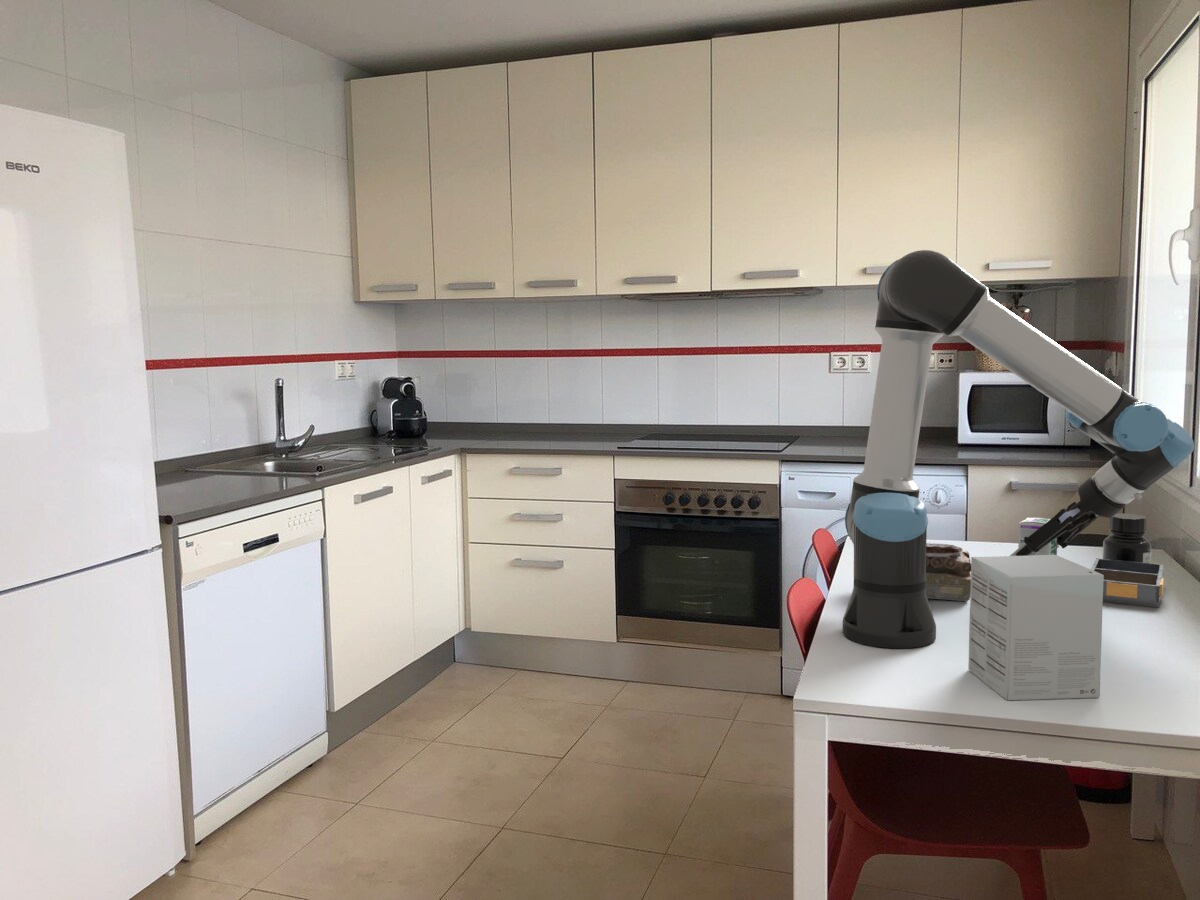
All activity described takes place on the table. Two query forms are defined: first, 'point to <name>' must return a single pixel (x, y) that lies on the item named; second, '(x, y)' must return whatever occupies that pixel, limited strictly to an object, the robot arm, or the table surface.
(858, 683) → the table surface
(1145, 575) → the grey divided tray
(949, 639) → the table surface
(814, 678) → the table surface
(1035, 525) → the syrup box
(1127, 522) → the ink bottle
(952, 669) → the table surface
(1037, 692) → the supplement box
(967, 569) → the decorative box
